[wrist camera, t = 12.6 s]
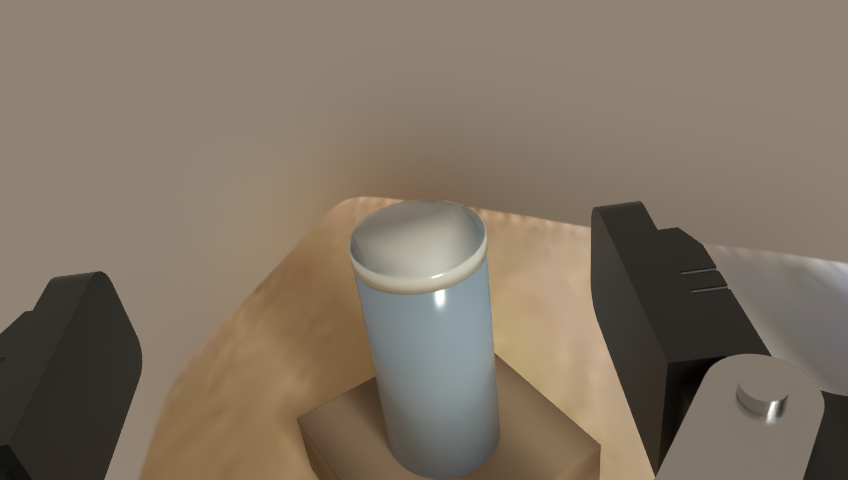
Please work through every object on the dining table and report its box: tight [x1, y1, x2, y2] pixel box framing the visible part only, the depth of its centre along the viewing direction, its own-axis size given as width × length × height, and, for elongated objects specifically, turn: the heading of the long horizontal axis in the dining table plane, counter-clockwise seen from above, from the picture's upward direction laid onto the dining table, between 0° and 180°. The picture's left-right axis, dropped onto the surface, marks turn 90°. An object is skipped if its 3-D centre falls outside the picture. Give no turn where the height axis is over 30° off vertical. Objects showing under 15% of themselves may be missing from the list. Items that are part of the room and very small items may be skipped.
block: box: [297, 353, 601, 480], centre depth 39 cm, size 11×11×4 cm
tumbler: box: [348, 199, 500, 479], centre depth 34 cm, size 6×6×12 cm
